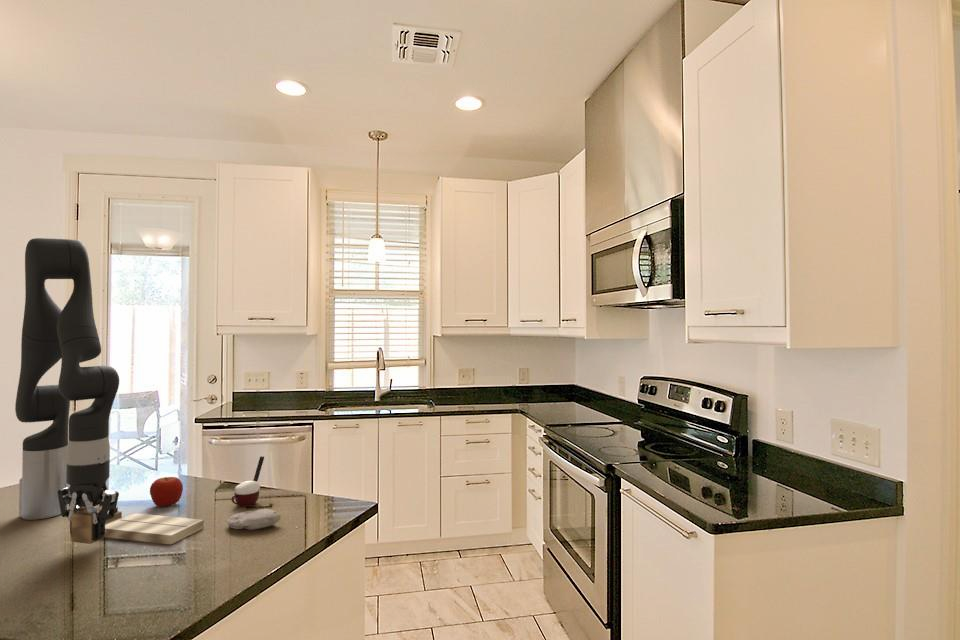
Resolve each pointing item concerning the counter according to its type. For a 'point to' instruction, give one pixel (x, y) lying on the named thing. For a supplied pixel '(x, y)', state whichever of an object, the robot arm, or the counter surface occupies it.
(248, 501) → the cocoa
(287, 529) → the counter surface
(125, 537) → the board
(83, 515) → the block
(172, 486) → the apple
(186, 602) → the counter surface
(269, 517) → the fossil
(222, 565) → the counter surface
